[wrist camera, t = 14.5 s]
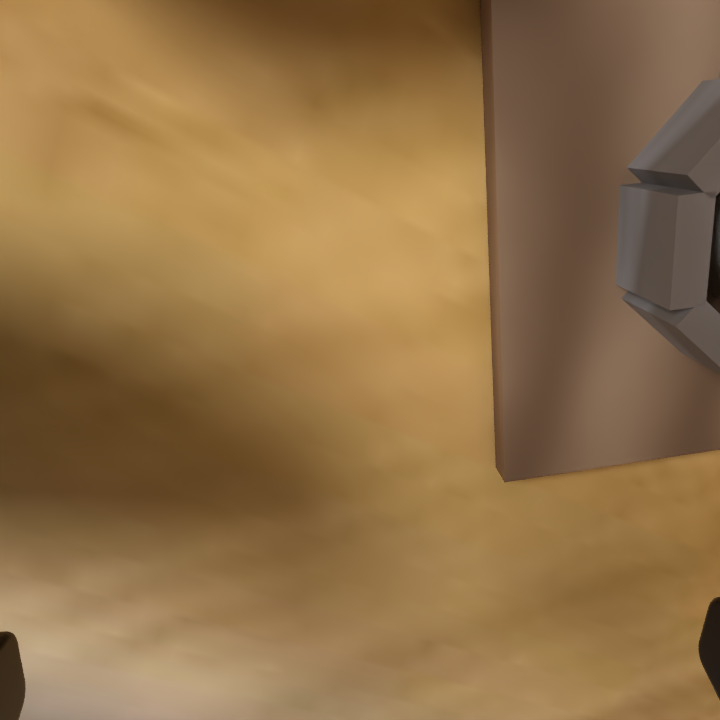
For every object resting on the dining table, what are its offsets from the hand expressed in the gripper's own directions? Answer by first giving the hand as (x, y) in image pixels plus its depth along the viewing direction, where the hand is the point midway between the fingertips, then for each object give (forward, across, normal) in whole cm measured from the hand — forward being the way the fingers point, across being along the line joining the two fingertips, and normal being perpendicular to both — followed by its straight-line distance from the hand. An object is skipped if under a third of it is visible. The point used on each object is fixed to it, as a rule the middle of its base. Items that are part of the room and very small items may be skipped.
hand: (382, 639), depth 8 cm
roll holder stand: (+13, -13, -4) cm, 19 cm away
